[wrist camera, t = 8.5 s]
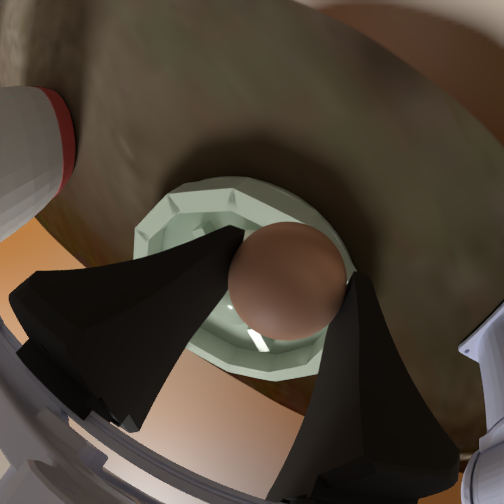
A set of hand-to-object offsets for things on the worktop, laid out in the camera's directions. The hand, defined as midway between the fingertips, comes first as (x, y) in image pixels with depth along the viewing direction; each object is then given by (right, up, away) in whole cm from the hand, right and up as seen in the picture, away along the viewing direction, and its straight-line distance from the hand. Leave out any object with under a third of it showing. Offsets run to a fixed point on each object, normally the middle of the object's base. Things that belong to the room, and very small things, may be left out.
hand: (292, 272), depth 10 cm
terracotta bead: (+1, +1, +1) cm, 1 cm away
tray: (-2, -2, +13) cm, 14 cm away
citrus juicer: (-24, +13, +14) cm, 30 cm away
